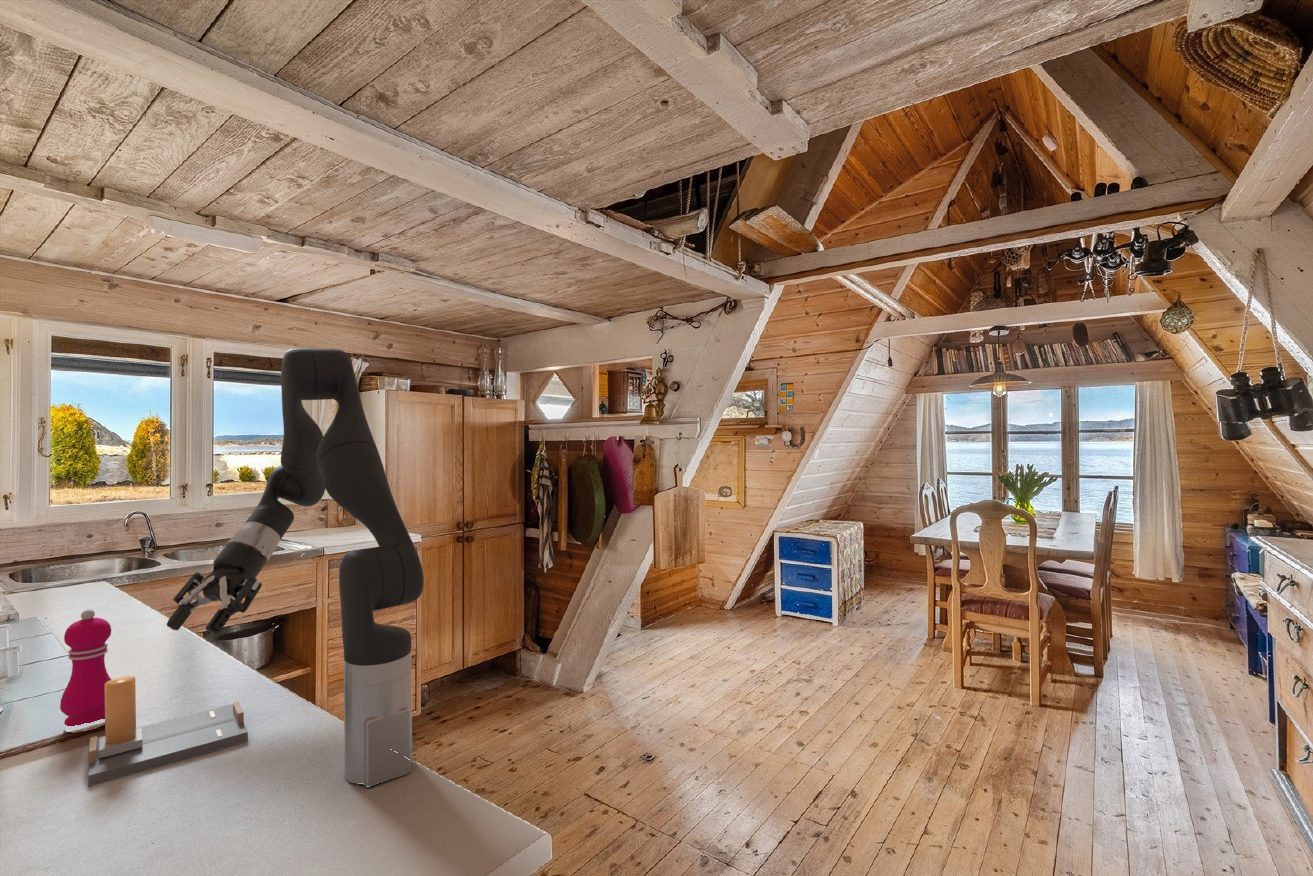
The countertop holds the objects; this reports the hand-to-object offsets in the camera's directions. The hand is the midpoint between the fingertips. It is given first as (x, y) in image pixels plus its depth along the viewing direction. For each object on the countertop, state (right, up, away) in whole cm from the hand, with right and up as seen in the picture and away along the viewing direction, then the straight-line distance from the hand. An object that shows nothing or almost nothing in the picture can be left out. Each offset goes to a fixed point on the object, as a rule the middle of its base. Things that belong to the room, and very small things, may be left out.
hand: (191, 630), depth 107 cm
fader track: (+2, -16, -7) cm, 18 cm away
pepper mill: (-17, -17, 0) cm, 24 cm away
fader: (-3, -15, -11) cm, 19 cm away
